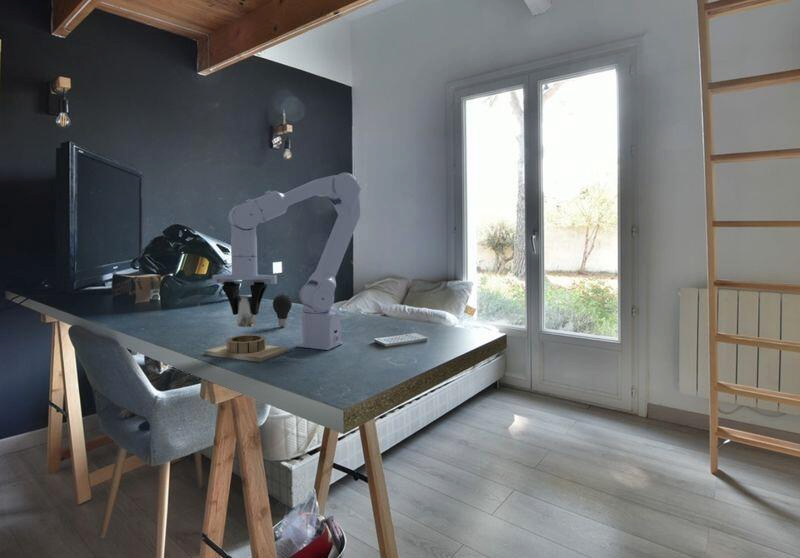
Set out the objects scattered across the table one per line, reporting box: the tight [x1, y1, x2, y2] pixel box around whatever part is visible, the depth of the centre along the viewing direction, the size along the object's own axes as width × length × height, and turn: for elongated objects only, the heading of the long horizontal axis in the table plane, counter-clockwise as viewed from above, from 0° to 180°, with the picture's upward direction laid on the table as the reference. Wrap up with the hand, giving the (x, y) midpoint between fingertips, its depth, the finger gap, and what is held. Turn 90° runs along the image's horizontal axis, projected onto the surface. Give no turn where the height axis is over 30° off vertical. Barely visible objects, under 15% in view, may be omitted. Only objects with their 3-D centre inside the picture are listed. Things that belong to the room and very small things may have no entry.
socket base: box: [203, 334, 288, 363], centre depth 109 cm, size 16×10×4 cm, turn 69°
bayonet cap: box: [236, 294, 256, 328], centre depth 109 cm, size 5×4×7 cm
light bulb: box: [272, 294, 293, 328], centre depth 140 cm, size 6×6×10 cm
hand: (245, 314), depth 109 cm, fingers closed on bayonet cap, 4 cm apart
